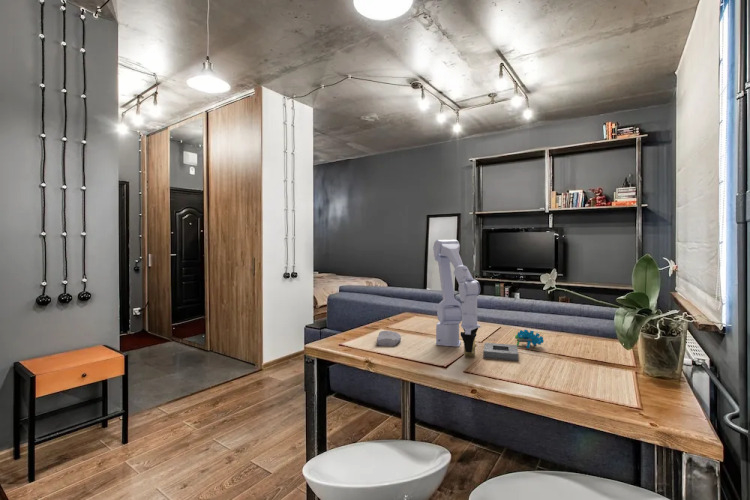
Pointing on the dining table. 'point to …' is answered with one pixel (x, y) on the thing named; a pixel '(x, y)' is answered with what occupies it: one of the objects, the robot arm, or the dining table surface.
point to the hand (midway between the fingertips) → (469, 349)
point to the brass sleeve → (470, 354)
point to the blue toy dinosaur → (529, 338)
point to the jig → (500, 351)
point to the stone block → (388, 338)
